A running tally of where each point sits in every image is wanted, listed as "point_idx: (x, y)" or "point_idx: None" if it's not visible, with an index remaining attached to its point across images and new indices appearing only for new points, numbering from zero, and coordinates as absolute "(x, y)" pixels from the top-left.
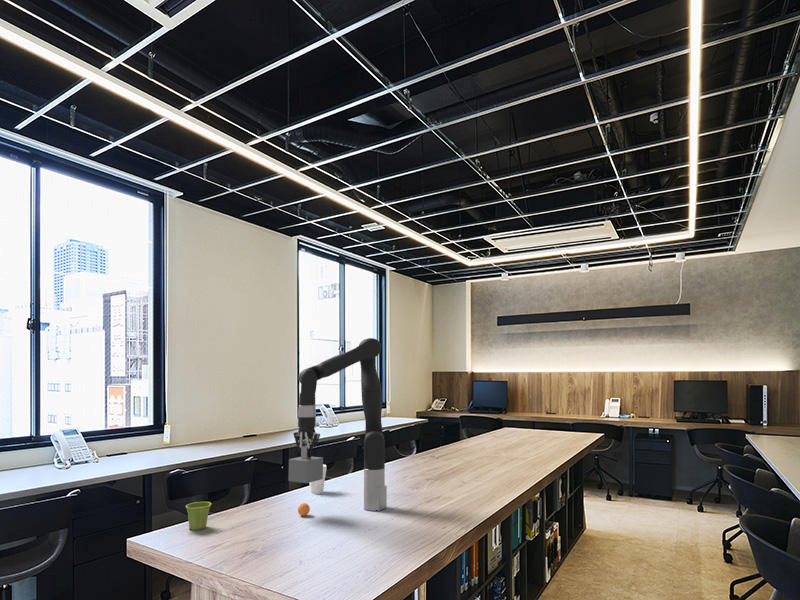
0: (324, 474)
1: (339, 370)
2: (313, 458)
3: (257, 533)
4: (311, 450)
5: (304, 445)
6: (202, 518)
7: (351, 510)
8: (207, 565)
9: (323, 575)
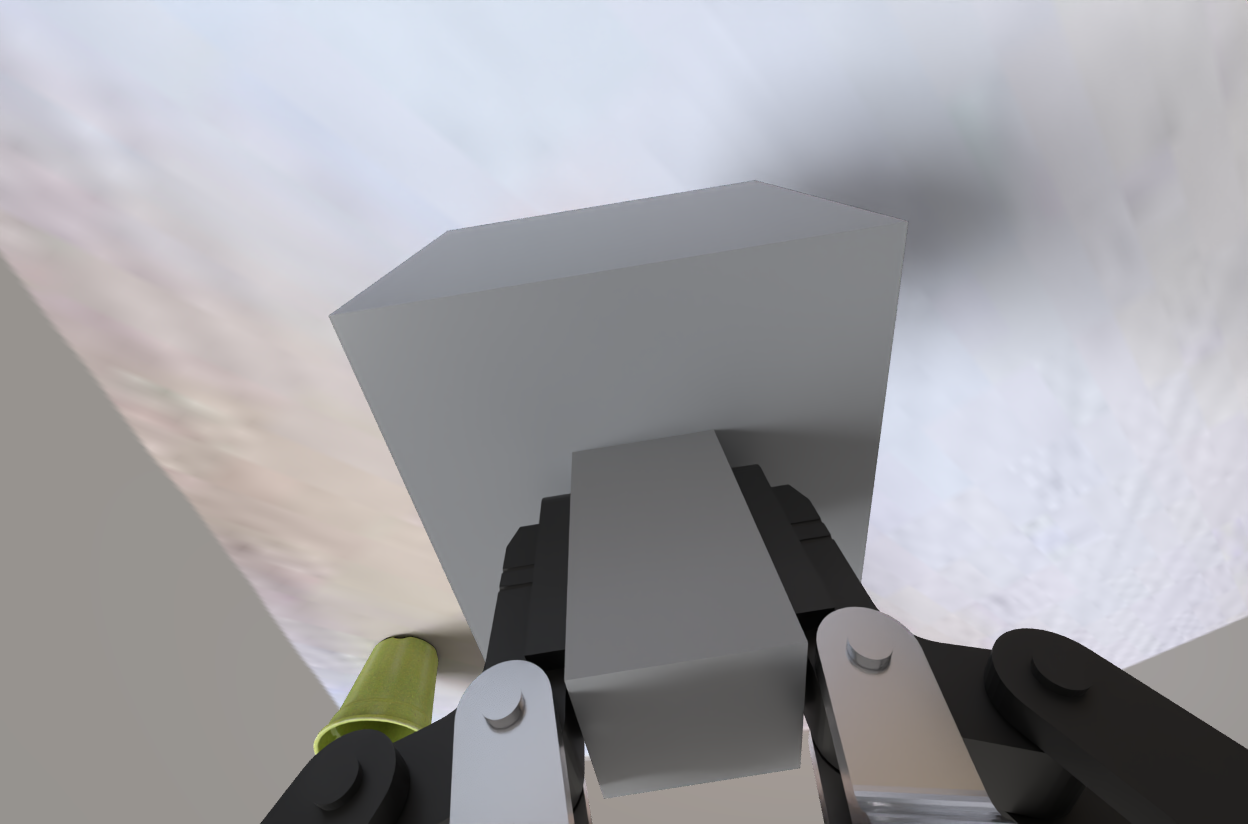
0: None
1: None
2: (771, 415)
3: None
4: (836, 591)
5: (565, 739)
6: (433, 695)
7: None
8: None
9: (1114, 612)
